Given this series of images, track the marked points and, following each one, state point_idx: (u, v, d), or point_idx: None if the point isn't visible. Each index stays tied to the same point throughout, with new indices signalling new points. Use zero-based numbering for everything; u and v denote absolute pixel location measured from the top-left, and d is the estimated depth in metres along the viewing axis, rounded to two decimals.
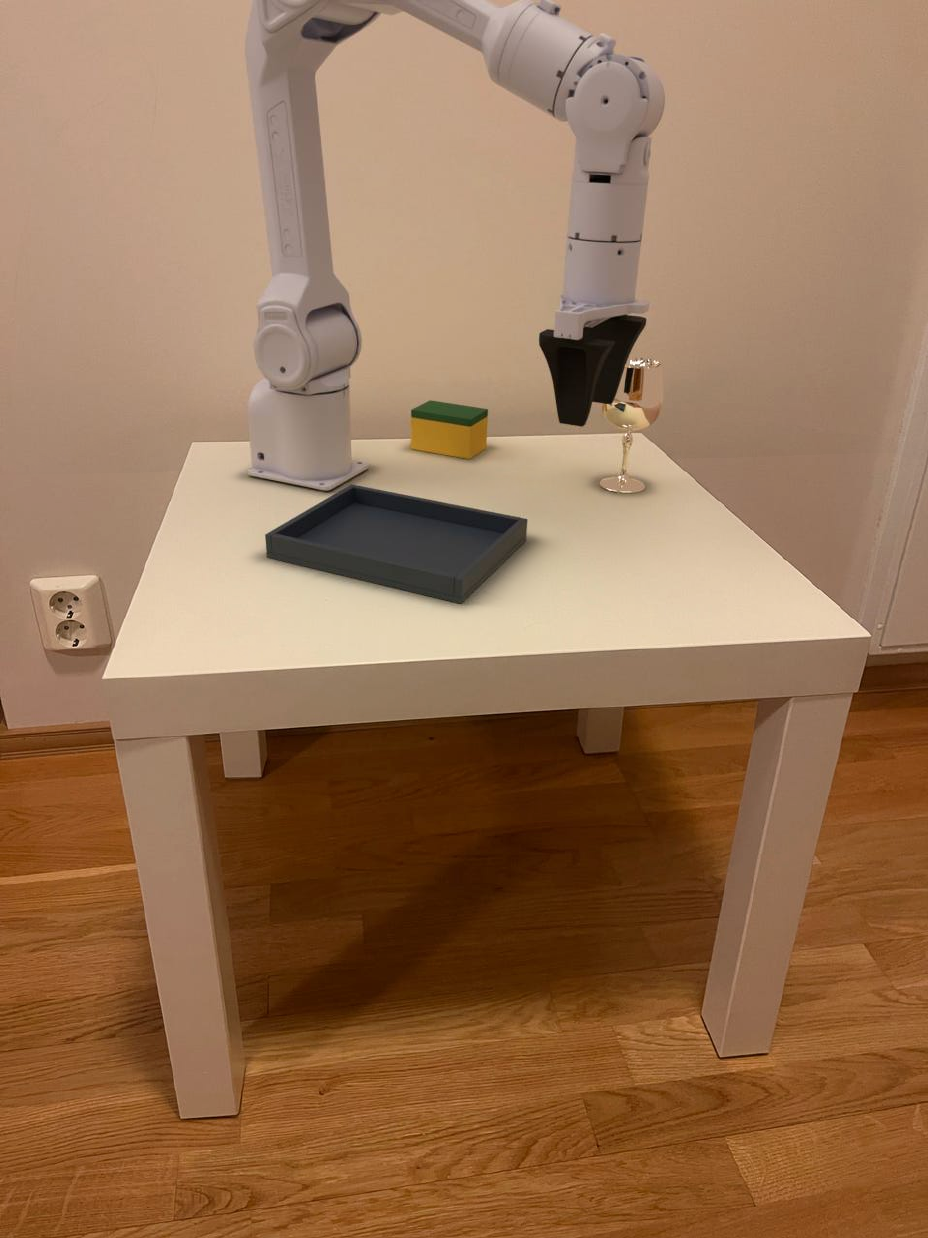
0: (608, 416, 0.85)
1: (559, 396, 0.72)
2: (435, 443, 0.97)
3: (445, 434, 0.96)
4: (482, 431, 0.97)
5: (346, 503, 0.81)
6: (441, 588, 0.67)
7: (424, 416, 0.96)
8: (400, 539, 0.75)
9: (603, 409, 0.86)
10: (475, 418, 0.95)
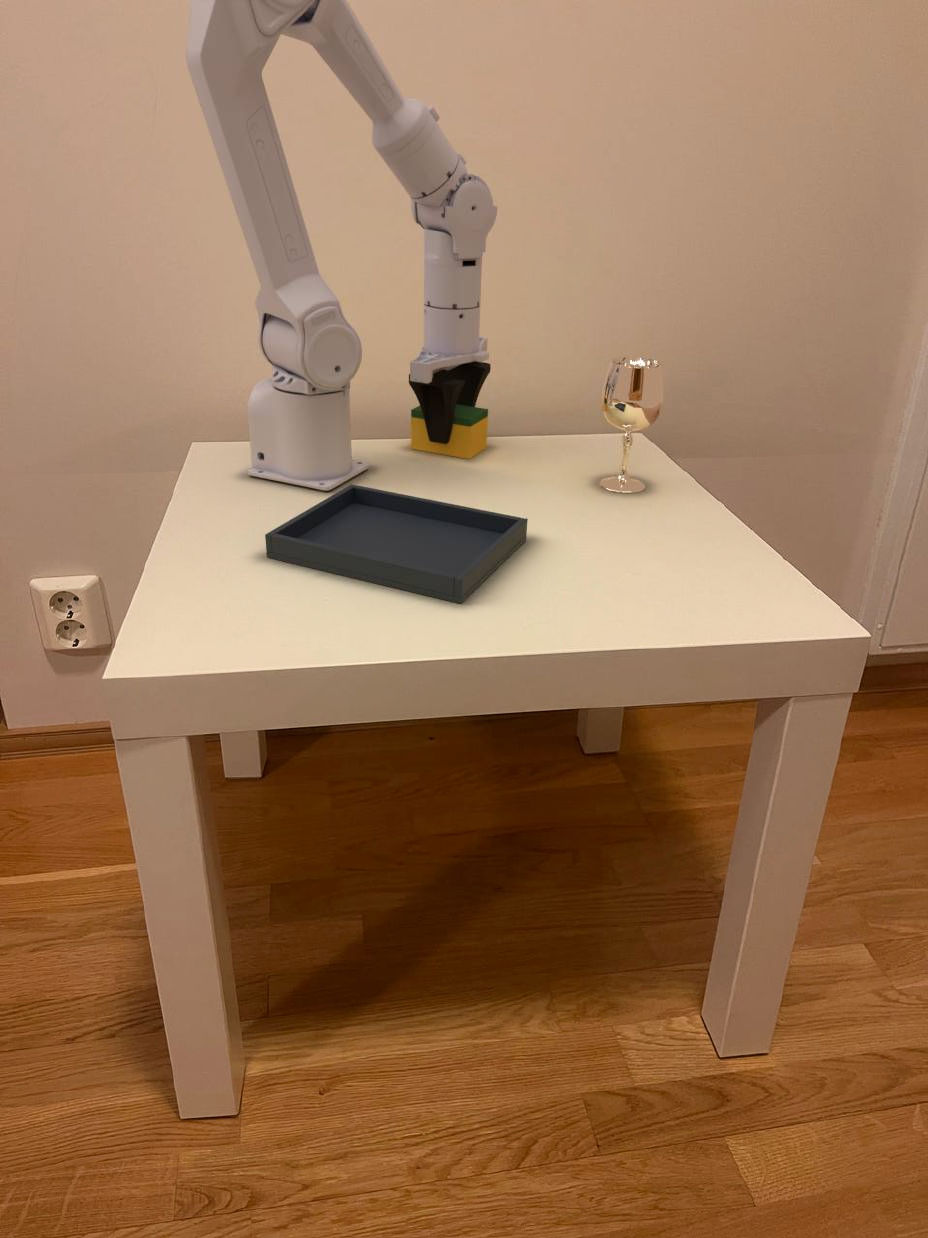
0: (608, 416, 0.85)
1: (427, 421, 0.95)
2: (435, 443, 0.97)
3: None
4: (482, 431, 0.97)
5: (346, 503, 0.81)
6: (441, 588, 0.67)
7: None
8: (400, 539, 0.75)
9: (603, 409, 0.86)
10: (475, 418, 0.95)
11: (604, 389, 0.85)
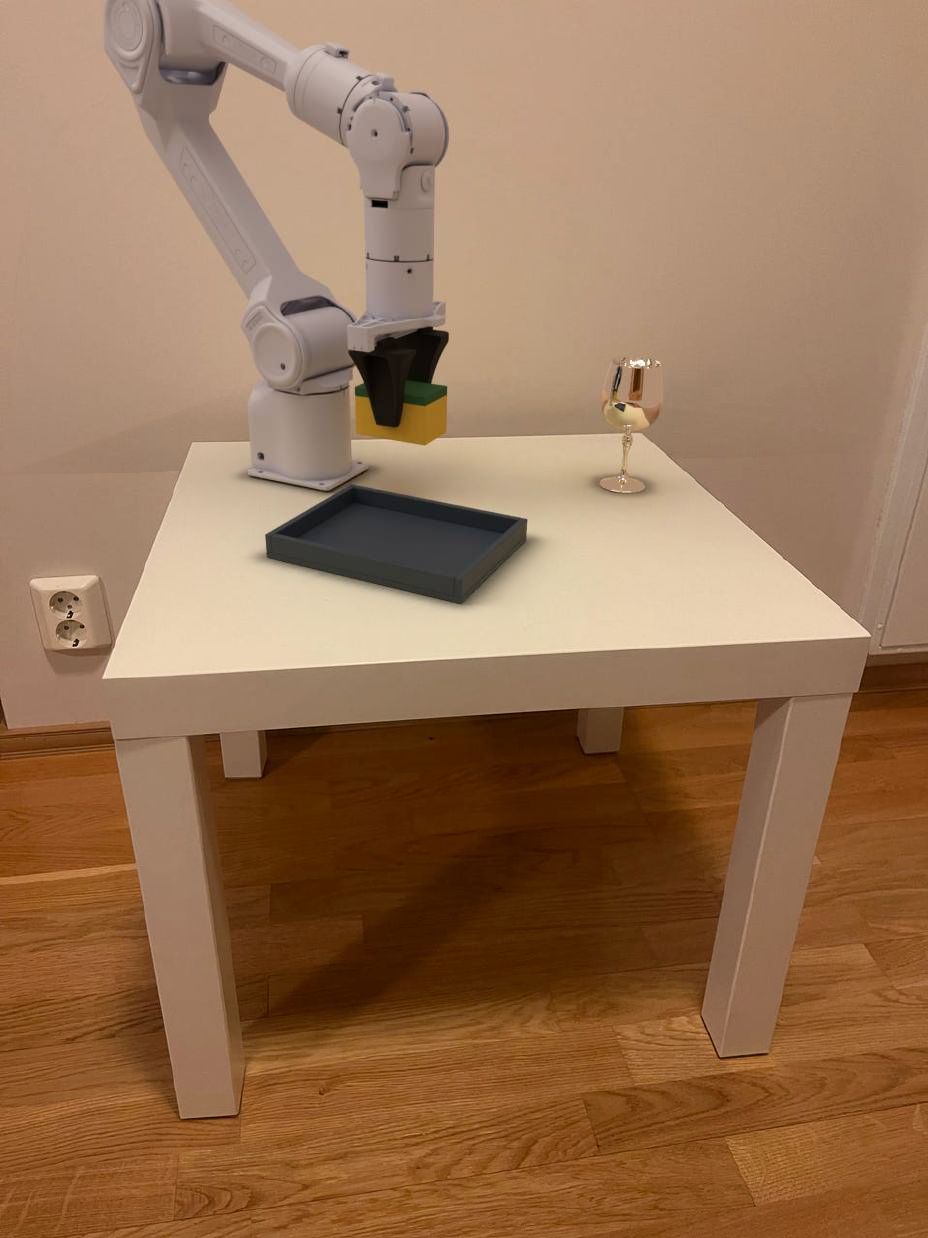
0: (608, 416, 0.85)
1: (373, 400, 0.79)
2: (384, 427, 0.81)
3: None
4: (440, 412, 0.81)
5: (346, 503, 0.81)
6: (441, 588, 0.67)
7: None
8: (400, 539, 0.75)
9: (603, 409, 0.86)
10: (431, 396, 0.79)
11: (604, 389, 0.85)
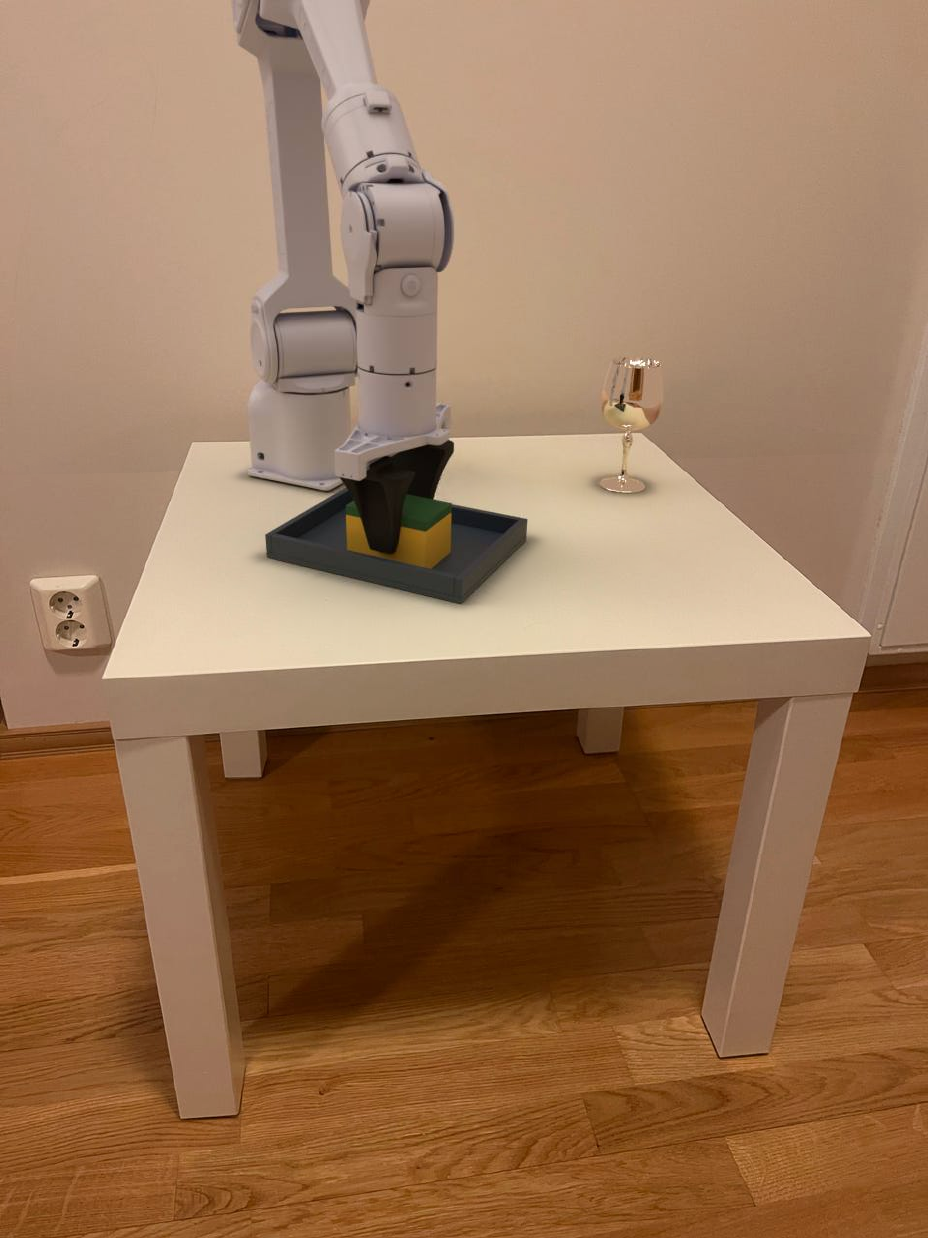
0: (608, 416, 0.85)
1: (366, 523, 0.69)
2: None
3: None
4: (444, 533, 0.71)
5: (346, 503, 0.81)
6: (441, 588, 0.67)
7: None
8: None
9: (603, 409, 0.86)
10: (432, 519, 0.69)
11: (604, 389, 0.85)
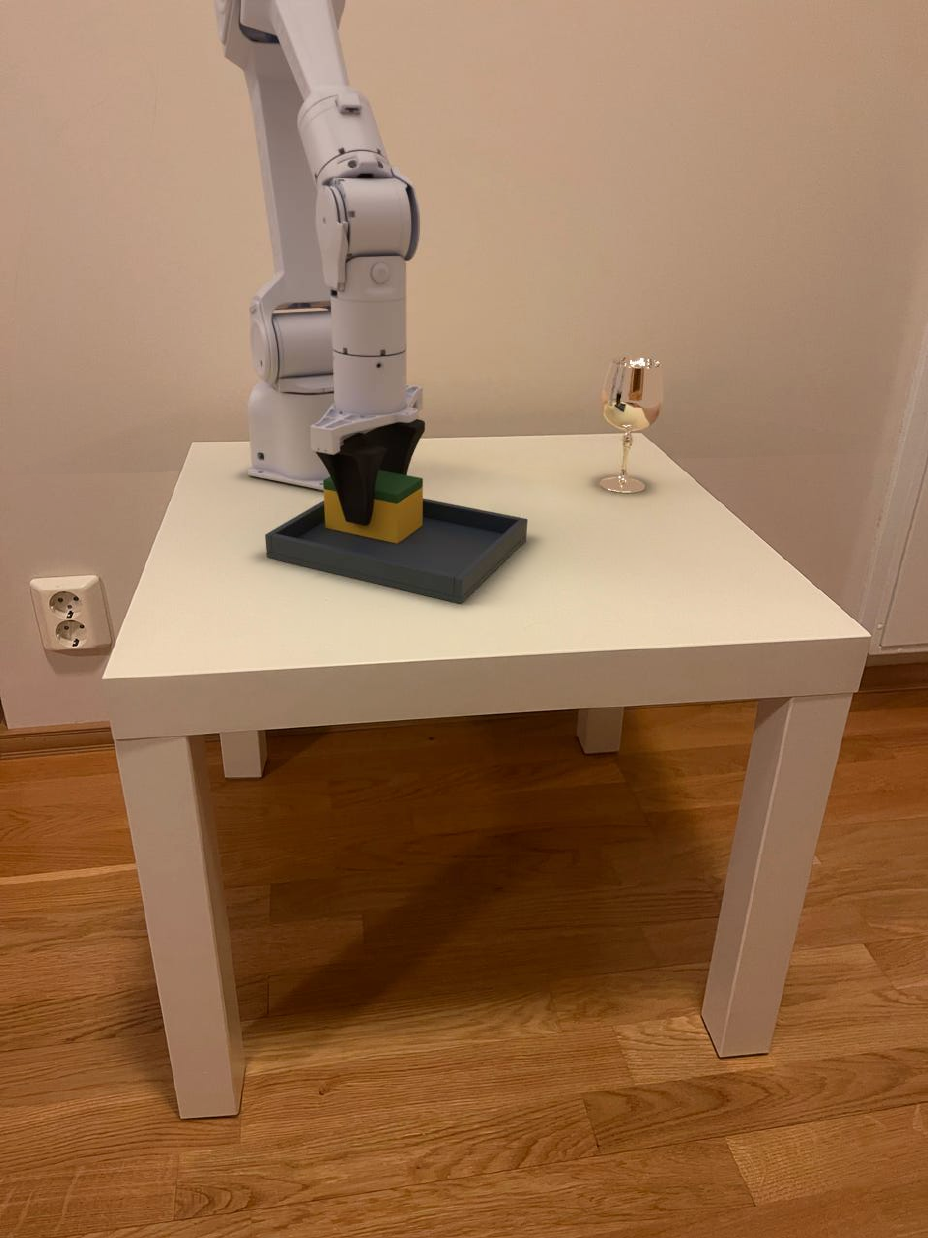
0: (608, 416, 0.85)
1: (342, 497, 0.74)
2: None
3: None
4: (415, 506, 0.76)
5: None
6: (441, 588, 0.67)
7: None
8: None
9: (603, 409, 0.86)
10: (404, 492, 0.73)
11: (604, 389, 0.85)
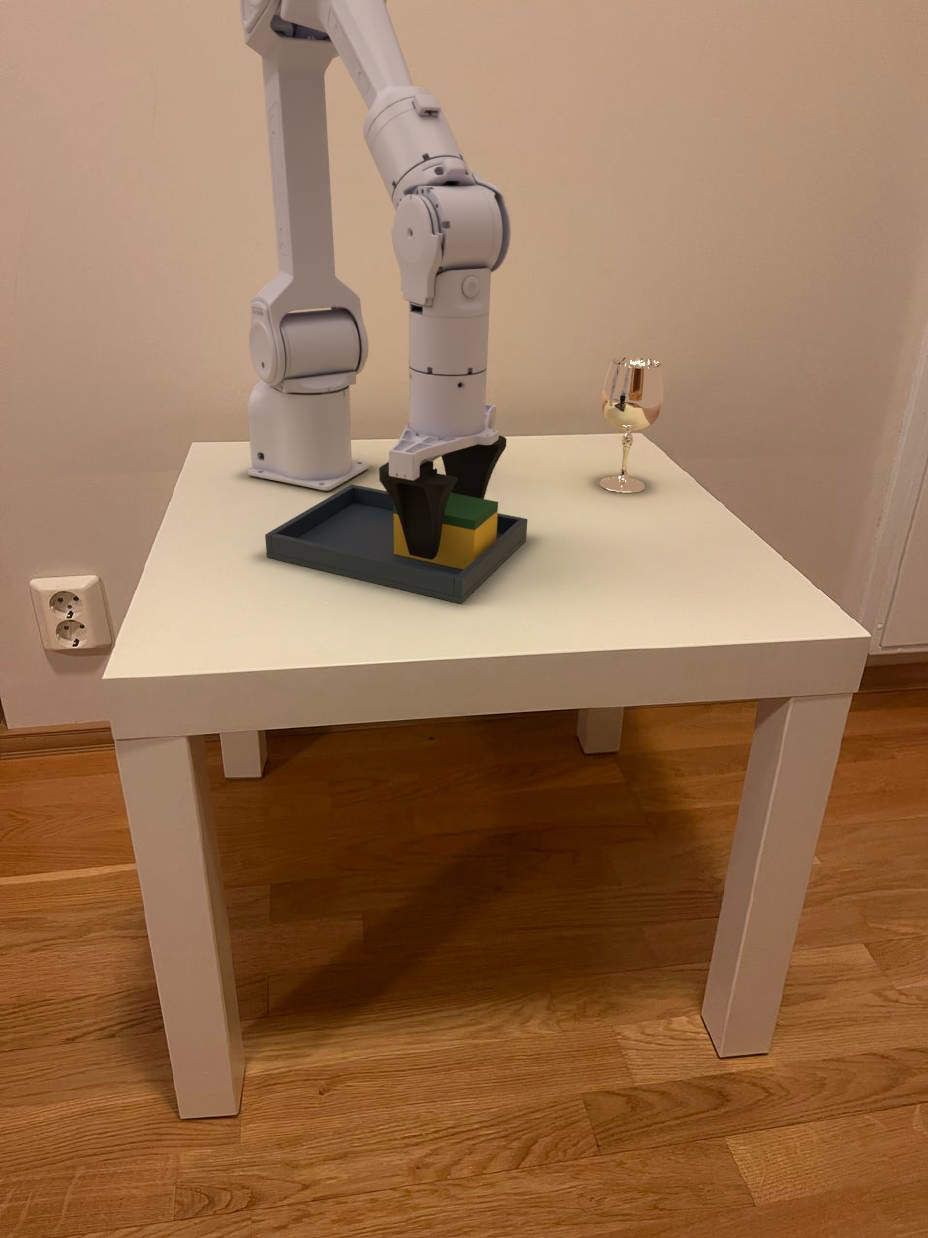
0: (608, 416, 0.85)
1: (406, 529, 0.68)
2: None
3: None
4: (490, 532, 0.72)
5: (346, 503, 0.81)
6: (441, 588, 0.67)
7: None
8: None
9: (603, 409, 0.86)
10: (481, 518, 0.69)
11: (604, 389, 0.85)
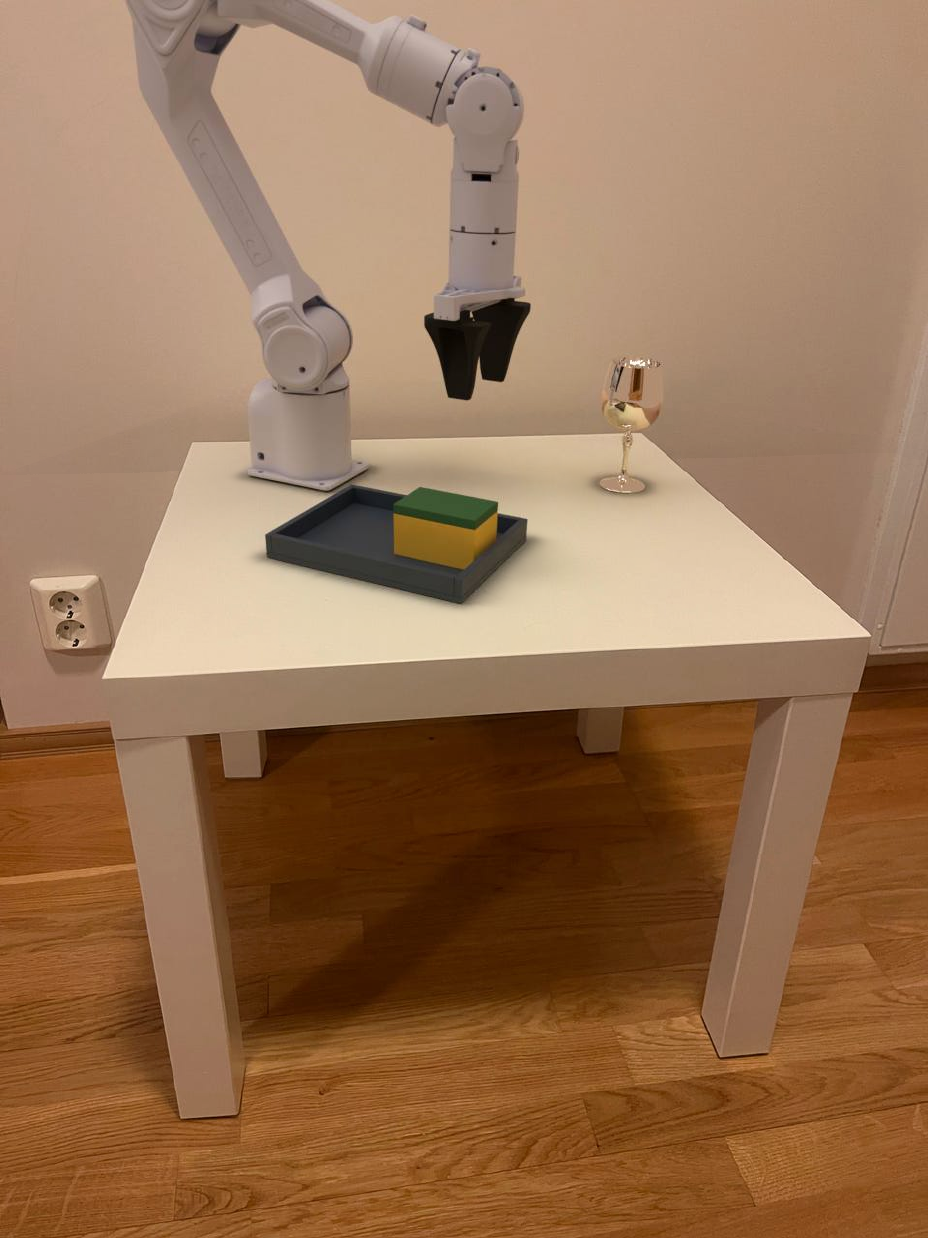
0: (608, 416, 0.85)
1: (446, 373, 0.80)
2: (427, 549, 0.71)
3: (440, 538, 0.70)
4: (490, 532, 0.72)
5: (346, 503, 0.81)
6: (441, 588, 0.67)
7: (411, 513, 0.70)
8: None
9: (603, 409, 0.86)
10: (481, 518, 0.69)
11: (604, 389, 0.85)
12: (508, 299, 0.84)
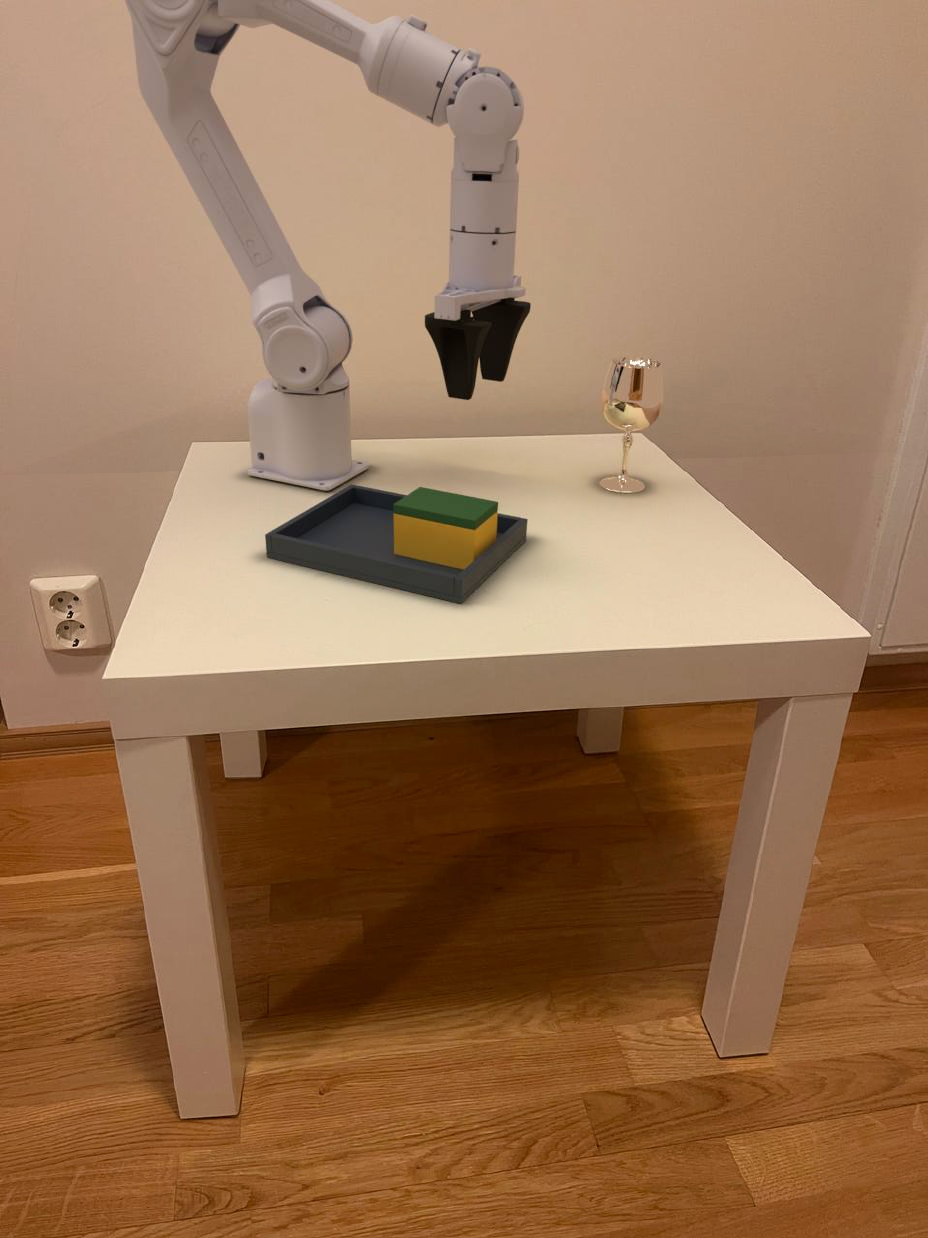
0: (608, 416, 0.85)
1: (446, 372, 0.80)
2: (427, 549, 0.71)
3: (440, 538, 0.70)
4: (490, 532, 0.72)
5: (346, 503, 0.81)
6: (441, 588, 0.67)
7: (411, 513, 0.70)
8: None
9: (603, 409, 0.86)
10: (481, 518, 0.69)
11: (604, 389, 0.85)
12: (508, 299, 0.84)
